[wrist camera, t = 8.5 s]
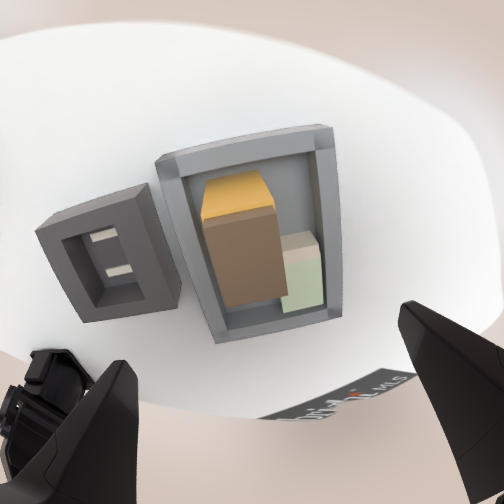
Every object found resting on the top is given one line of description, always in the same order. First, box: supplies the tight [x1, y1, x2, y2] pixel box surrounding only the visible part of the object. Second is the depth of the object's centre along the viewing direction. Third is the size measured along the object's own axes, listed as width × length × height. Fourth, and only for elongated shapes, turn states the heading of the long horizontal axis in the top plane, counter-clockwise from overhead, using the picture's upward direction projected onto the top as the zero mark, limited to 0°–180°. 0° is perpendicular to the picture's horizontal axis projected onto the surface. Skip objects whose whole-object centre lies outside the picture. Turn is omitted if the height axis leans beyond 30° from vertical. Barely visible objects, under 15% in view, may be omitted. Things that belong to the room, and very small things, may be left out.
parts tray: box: [155, 124, 342, 344], centre depth 19 cm, size 14×10×2 cm
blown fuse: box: [201, 169, 288, 308], centre depth 16 cm, size 5×3×7 cm
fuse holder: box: [35, 183, 181, 323], centre depth 18 cm, size 8×8×3 cm
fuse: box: [279, 230, 323, 313], centre depth 20 cm, size 5×3×2 cm, turn 10°
